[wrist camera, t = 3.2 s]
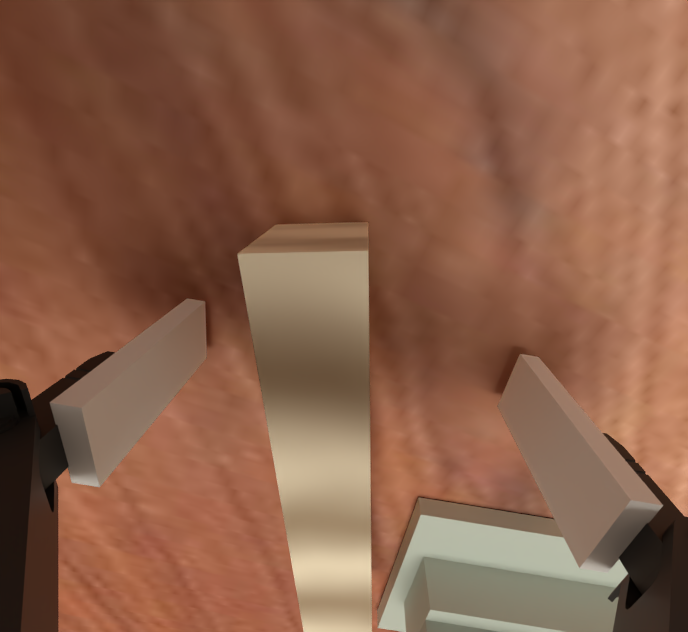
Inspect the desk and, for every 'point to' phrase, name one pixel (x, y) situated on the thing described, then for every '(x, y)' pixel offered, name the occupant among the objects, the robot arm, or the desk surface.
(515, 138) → the desk surface
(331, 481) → the birch bar
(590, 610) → the ridge
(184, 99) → the desk surface
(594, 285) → the desk surface
